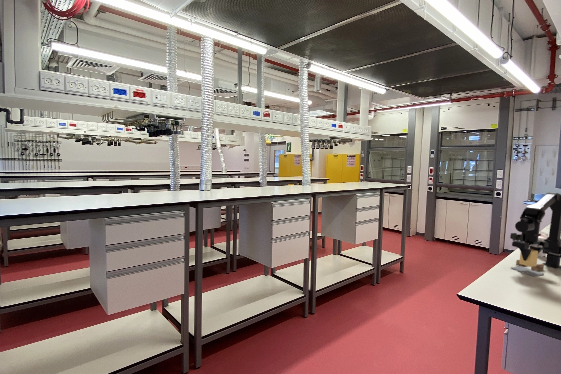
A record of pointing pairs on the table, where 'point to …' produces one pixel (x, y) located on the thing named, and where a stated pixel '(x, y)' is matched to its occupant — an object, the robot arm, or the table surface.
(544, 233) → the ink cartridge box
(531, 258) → the ochre block
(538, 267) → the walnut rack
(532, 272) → the slate pad
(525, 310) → the table surface
